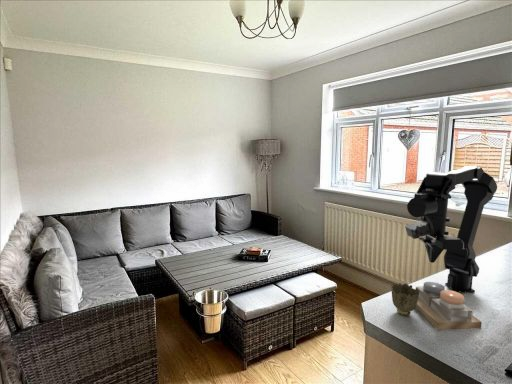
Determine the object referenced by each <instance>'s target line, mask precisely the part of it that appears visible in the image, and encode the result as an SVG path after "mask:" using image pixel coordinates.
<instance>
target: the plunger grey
mask: <svg viewBox="0 0 512 384" xmlns="http://www.w3.org/2000/svg"><path fill="white" fill-rule="evenodd" d="M422 286H423V289H424V290H425V291H426V292H427V293H429V294H430V295H440V292H441V291H443V290H446V288H445V287H446V286H444V284H441V283H439V282H434V281H425V282H423V285H422Z"/></svg>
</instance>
